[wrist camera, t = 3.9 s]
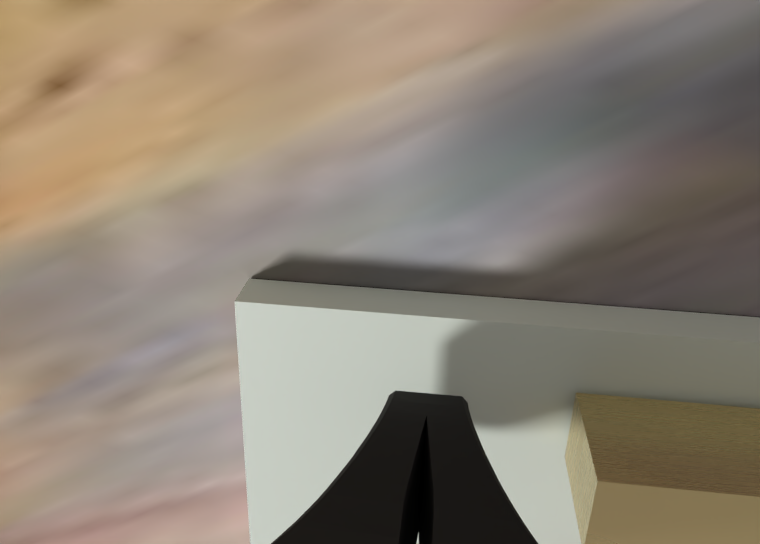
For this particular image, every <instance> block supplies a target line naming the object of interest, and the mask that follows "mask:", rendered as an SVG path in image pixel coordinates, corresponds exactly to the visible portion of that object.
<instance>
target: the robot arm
mask: <svg viewBox="0 0 760 544" xmlns="http://www.w3.org/2000/svg"><path fill="white" fill-rule="evenodd" d="M418 532H419V544H538V542H537V541H536V540H535V538H534V537H533V535H532V534H531V533H530V531H529V530H528V528H527V527H526V525H525V524H524V522H523V521H522V519H521V517H520V516H519V514H518V513H517V511H516V509H515V508H514V506H513V504H512V503H511V501H510V499H509V498H508V496H507V494H506V493H505V491H504V489H503V487H502V485H501V483H500V482H499V480H498V478H497V476H496V474H495V472H494V470H493V468H492V466H491V464H490V462H489V460H488V458H487V456H486V454H485V451H484V449H483V447H482V445H481V442H480V440H479V437H478V435H477V432H476V430H475V427H474V424H473V421H472V418H471V415H470V411H469V407H468V402H467V401H466V400H465V399H464V398H463V397H462V396H453V395H442V394H430V393H419V392H407V391H394V392H393V393H391V394H390V395H389V397H388V399H387V402H386V404H385V406H384V408H383V410H382V412H381V414H380V415H379V417H378V419H377V421H376V422H375V424H374V426H373V427H372V429H371V430H370V432H369V434H368V435H367V437H366V438H365V439H364V441H363V442H362V444H361V445H360V447H359V448H358V449H357V451H356V452H355V454H354V455H353V457H352V458H351V459H350V461H349V462H348V463H347V465H346V466H345V467H344V468H343V469H342V471H341V472H340V473H339V474H338V476H337V477H336V478H335V479H334V480H333V482H332V483H331V484H330V485H329V487H328V488H327V489H326V490H325V491H324V492H323V493H322V495H321V496H320V497H319V498H318V499H317V500H316V501H315V502H314V503H313V504H312V505H311V506H310V507H309V508H308V509H307V510H306V511H305V512H304V513H303V514H302V515H301V516H300V517H299V518H298V519H297V520H296V521H295V522H294V523H293V524H292V525H291V526H290V527H289V528H288V529H287V530H286V531H284V532H283V533H282V534H281V535H280V536H279V537H278V538H277V539H275V540H274V541H273V542H272V543H271V544H416V543H417V538H418Z"/></svg>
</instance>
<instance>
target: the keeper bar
mask: <svg viewBox="0 0 760 544" xmlns="http://www.w3.org/2000/svg"><path fill="white" fill-rule="evenodd" d="M565 461H566V467H567V472H568V477H569V482H570V487H571V493H572V498H573V503H574V508H575V513H576V519H577V524H578V529H579V534H580V539H581V544H760V409H759V408H747V407H736V406H724V405H713V404H701V403H690V402H678V401H666V400H655V399H643V398H632V397H620V396H609V395H597V394H586V393H576V395H575V401H574V407H573V412H572V418H571V423H570V429H569V435H568V440H567V446H566V451H565Z"/></svg>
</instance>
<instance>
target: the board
mask: <svg viewBox="0 0 760 544" xmlns="http://www.w3.org/2000/svg"><path fill="white" fill-rule="evenodd" d="M235 315H236V330H237V346H238V361H239V377H240V392H241V408H242V423H243V439H244V454H245V470H246V485H247V501H248V516H249V532H250V544H271V543H272V542H273V541H274V540H275V539H277V538H278V537H279V536H280V535H281V534H282V533H283V532H284V531H286V530H287V529H288V528H289V527H290V526H291V525H292V524H293V523H294V522H295V521H296V520H297V519H298V518H299V517H300V516H301V515H302V514H303V513H304V512H305V511H306V510H307V509H308V508H309V507H310V506H311V505H312V504H313V503H314V502H315V501H316V500H317V499H318V498H319V497H320V496H321V495H322V493H323V492H324V491H325V490H326V489H327V488H328V487H329V485H330V484H331V483H332V482H333V480H334V479H335V478H336V477H337V476H338V474H339V473H340V472H341V471H342V469H343V468H344V467H345V466H346V465H347V463H348V462H349V461H350V459H351V458H352V457H353V455H354V454H355V452H356V451H357V449H358V448H359V447H360V445H361V444H362V442H363V441H364V439H365V438H366V437H367V435H368V434H369V432H370V430H371V429H372V427H373V426H374V424H375V422H376V421H377V419H378V417H379V415H380V414H381V412H382V410H383V408H384V406H385V404H386V402H387V399H388V397H389V395H390V394H391V393H393V392H394V391H407V392H419V393H430V394H442V395H453V396H462V397H463V398H464V399H465V400H466V401H467V402H468V407H469V411H470V415H471V418H472V421H473V424H474V427H475V430H476V432H477V435H478V437H479V440H480V442H481V445H482V447H483V449H484V451H485V454H486V456H487V458H488V460H489V462H490V464H491V466H492V468H493V470H494V472H495V474H496V476H497V478H498V480H499V482H500V483H501V485H502V487H503V489H504V491H505V493H506V494H507V496H508V498H509V499H510V501H511V503H512V504H513V506H514V508H515V509H516V511H517V513H518V514H519V516H520V517H521V519H522V521H523V522H524V524H525V525H526V527H527V528H528V530H529V531H530V533H531V534H532V535H533V537H534V538H535V540H536V541H537V542H538V544H581V539H580V534H579V529H578V524H577V519H576V513H575V508H574V503H573V498H572V493H571V487H570V482H569V477H568V472H567V467H566V461H565V451H566V446H567V440H568V435H569V429H570V423H571V418H572V412H573V407H574V401H575V395H576V393H586V394H597V395H609V396H620V397H632V398H643V399H655V400H666V401H678V402H690V403H701V404H713V405H724V406H736V407H747V408H759V409H760V317H747V316H734V315H721V314H708V313H695V312H682V311H668V310H655V309H642V308H629V307H616V306H603V305H590V304H577V303H563V302H550V301H537V300H524V299H511V298H498V297H485V296H472V295H458V294H445V293H432V292H419V291H406V290H393V289H380V288H366V287H353V286H340V285H327V284H314V283H301V282H288V281H275V280H261V279H249V280H248V281H247V283H246V284H245V286H244V287H243V289H242V291H241V292H240V294H239V295H238V297H237V298H236V300H235ZM416 544H419V532H418V538H417V543H416Z"/></svg>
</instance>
